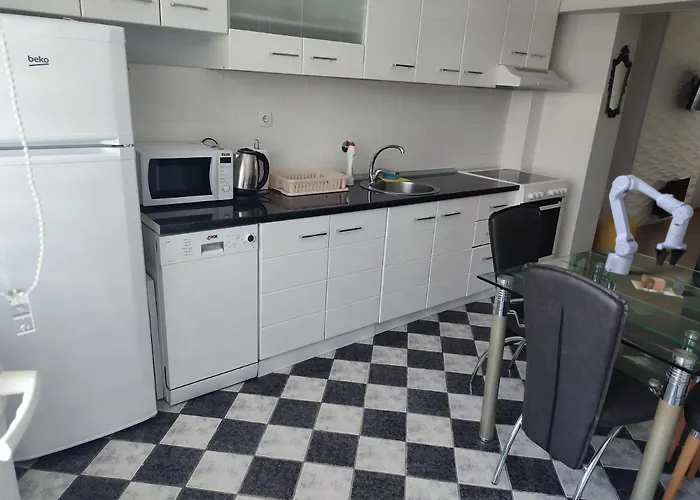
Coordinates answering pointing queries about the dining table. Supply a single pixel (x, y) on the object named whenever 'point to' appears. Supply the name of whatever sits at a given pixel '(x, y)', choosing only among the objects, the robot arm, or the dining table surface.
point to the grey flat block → (679, 285)
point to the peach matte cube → (658, 284)
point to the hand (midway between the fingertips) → (665, 265)
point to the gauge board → (665, 291)
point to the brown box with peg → (647, 281)
